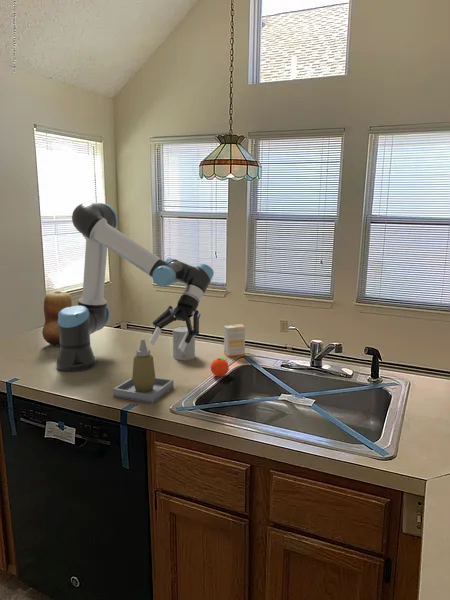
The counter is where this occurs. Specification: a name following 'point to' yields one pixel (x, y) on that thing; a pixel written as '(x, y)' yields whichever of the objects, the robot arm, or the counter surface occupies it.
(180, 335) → the grey cylinder
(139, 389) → the squeeze bottle
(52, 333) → the butternut squash
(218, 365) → the clementine
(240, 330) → the supplement box
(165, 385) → the tray
